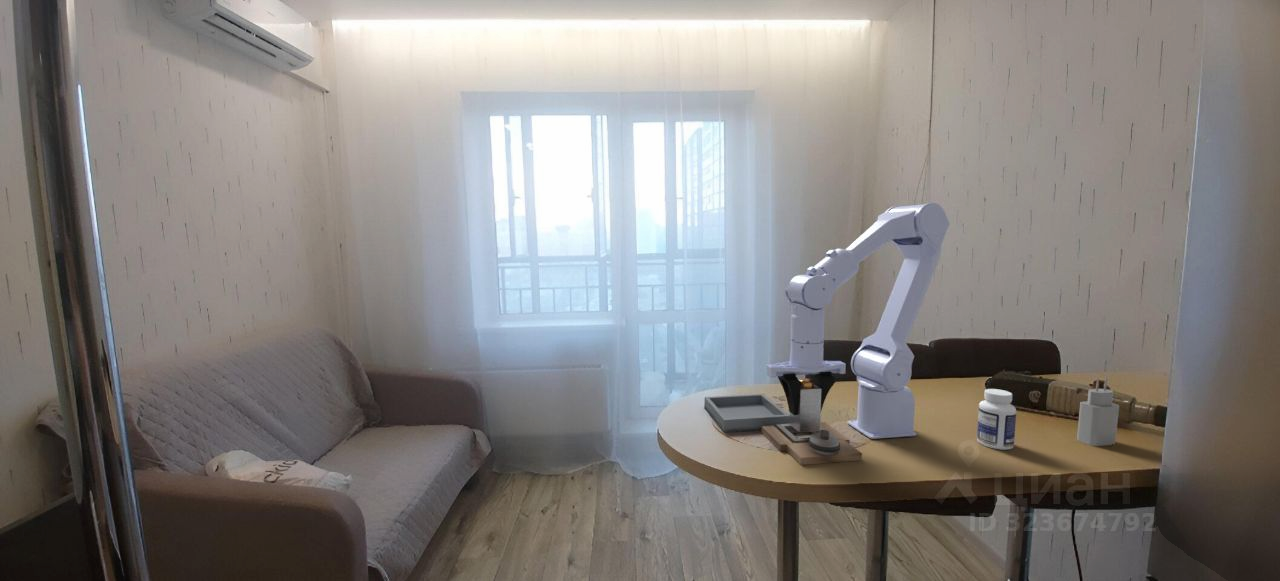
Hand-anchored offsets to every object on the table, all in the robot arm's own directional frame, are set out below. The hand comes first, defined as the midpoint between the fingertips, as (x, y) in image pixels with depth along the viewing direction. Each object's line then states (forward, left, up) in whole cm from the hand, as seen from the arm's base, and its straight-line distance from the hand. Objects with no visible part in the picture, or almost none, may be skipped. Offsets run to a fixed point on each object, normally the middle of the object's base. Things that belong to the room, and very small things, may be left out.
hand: (804, 412), depth 87 cm
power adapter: (-52, +10, -5) cm, 53 cm away
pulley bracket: (0, +3, -5) cm, 6 cm away
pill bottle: (-33, +8, -5) cm, 34 cm away
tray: (+7, -12, -5) cm, 15 cm away
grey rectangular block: (0, 0, -3) cm, 3 cm away
